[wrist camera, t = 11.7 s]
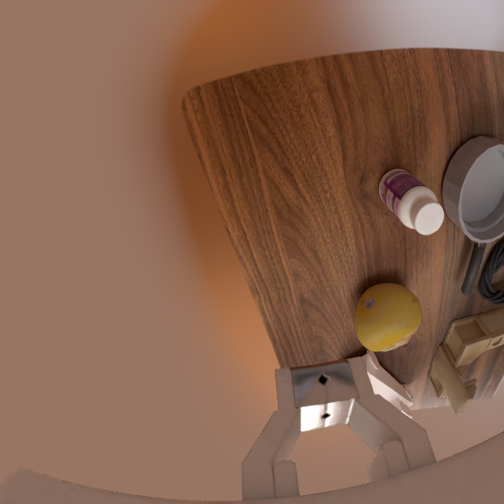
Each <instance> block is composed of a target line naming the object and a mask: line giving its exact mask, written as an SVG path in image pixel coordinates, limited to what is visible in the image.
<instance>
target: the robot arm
mask: <svg viewBox="0 0 504 504" xmlns="http://www.w3.org/2000/svg"><path fill="white" fill-rule="evenodd" d="M275 378H276V389H277V399H278V409H279V411H274V413H273V415H272V416H271V418H270V420H269V421H268V423H267V425H266V426H265V428H264V429H263V431H262V433H261V434H260V436H259V437H258V439H257V441H256V442H255V444H254V445H253V447H252V449H251V450H250V452H249V453H248V455H247V456H246V458H245V460H244V461H243V463H242V494H243V501H196V500H195V501H194V500H177V499H165V498H155V497H146V496H138V495H132V494H125V493H119V492H113V491H108V490H103V489H98V488H93V487H89V486H84V485H80V484H76V483H72V482H68V481H64V480H61V479H58V478H54V477H50V476H47V475H44V474H41V473H38V472H35V471H32V470H29V469H26V468H19V469H17V470H16V471H14V472H13V473H12V474H10V475H9V476H8V477H6V479H4V480H3V481H2V482H1V483H0V504H504V431H503V432H501V433H500V434H498V435H496V436H494V437H492V438H490V439H488V440H486V441H484V442H482V443H480V444H478V445H476V446H474V447H471V448H469V449H467V450H464V451H462V452H460V453H457V454H455V455H453V456H450V457H448V458H445V459H443V460H440V461H438V462H436V459H435V456H434V453H433V450H432V447H431V444H430V441H429V438H428V435H427V432H426V430H425V429H424V428H422V427H421V426H420V425H418V424H417V423H416V422H414V421H413V420H412V419H411V418H409V417H408V416H407V415H405V414H404V413H403V412H401V411H400V410H399V409H397V408H396V407H395V406H394V405H392V404H391V403H390V402H388V401H387V400H386V399H385V398H383V397H382V396H381V395H379V394H376V395H375V394H374V391H373V388H372V385H371V382H370V379H369V376H368V373H367V370H366V367H365V364H364V361H363V359H362V358H361V357H355V358H350V359H342V360H337V361H331V362H325V363H319V364H315V365H308V366H299V367H289V368H281V369H275ZM343 424H347V425H348V426H349V427H350V428H351V429H352V430H353V431H354V432H355V433H356V434H357V435H358V436H359V437H360V438H361V439H362V440H363V441H364V442H365V443H366V444H367V445H368V446H369V447H370V448H371V449H372V450H373V451H374V452H375V453H376V454H377V456H376V457H375V459H374V460H373V462H372V463H371V465H370V466H369V468H368V475H369V479H370V483H367V484H362V485H358V486H354V487H349V488H345V489H339V490H334V491H328V492H323V493H317V494H311V495H303V496H300V495H299V488H298V480H297V472H296V465H295V463H294V462H292V461H287V459H288V457H289V455H290V453H291V451H292V449H293V447H294V444H295V443H296V441H297V439H298V437H299V435H300V432H301V431H307V430H313V429H318V428H324V427H330V426H337V425H343Z"/></svg>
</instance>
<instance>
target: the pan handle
mask: <svg viewBox="0 0 504 504" xmlns="http://www.w3.org/2000/svg"><path fill="white" fill-rule="evenodd" d="M486 244H487V243H478V242H475V244H474V248H473V251H472V255H471V259H470V262H469V266H468V269H467V272H466V276H465V279H464V282H463V285H462V289H461V290H462V293H463V294H464V295H469V294H470V293H471V292H472V289H473V286H474V283H475V280H476V277H477V274H478V271H479V267H480V264H481V261H482V258H483V254H484V251H485V247H486Z"/></svg>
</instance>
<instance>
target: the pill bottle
mask: <svg viewBox="0 0 504 504" xmlns="http://www.w3.org/2000/svg"><path fill="white" fill-rule="evenodd" d="M379 194H380V197H381V199H382V201H383V202H384V203H385V204H386V205H387V207H388V208H389V209H390V210H391V211H392V212H393V213H394V214H395V215H396V216H397V217H398V218H399V220H400V221H401V222H402V223H403V224H404V225H405V226H407V227H409V228H412V229H416V230H417V231H418V232H419V233H421V234H423V235H429V234H432V233H434V232H435V231H437V230H438V229H439V227H440V226H441V224H442V222H443V219H444V211H443V208H442V207H441V205H440V204H439V203H437V199H436V196H435V194H434V193H433V192H432V191H431V190H430V189H429V188H428V187H427V186H425V185H424V184H423V183H421V182H420V181H419V180H417V179H416V178H415V177H413V176H412V175H411V174H410V173H408V172H407V171H405V170H402V169H393V170H391V171H389V172H388V173H386V174H385V175H384V176H383V178H382V179H381V181H380V185H379Z"/></svg>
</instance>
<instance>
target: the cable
mask: <svg viewBox="0 0 504 504" xmlns="http://www.w3.org/2000/svg"><path fill="white" fill-rule="evenodd" d="M503 265H504V241H503V242H501V243H500V244H499V245H498V246H497V247H496V249H495V250H494V252H493V254H492V256H491V257H490V259H489V260H488V262H487V265H486V268H485V270H484V272H483V275H482V278H481V281H480V283H479V293H480V295H481V296H482V297H483V298H484V299H486V300H488V301H490V302H492V303H494V304H496V305H503V304H504V287H503V289H502V290H499V291H496V290H494V289H493V288H492V287H491V285H490V283H491V280H492V277H493V274H494V273H495V272H497V271H498V270H499V269H500V268H501V267H502V266H503Z"/></svg>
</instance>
